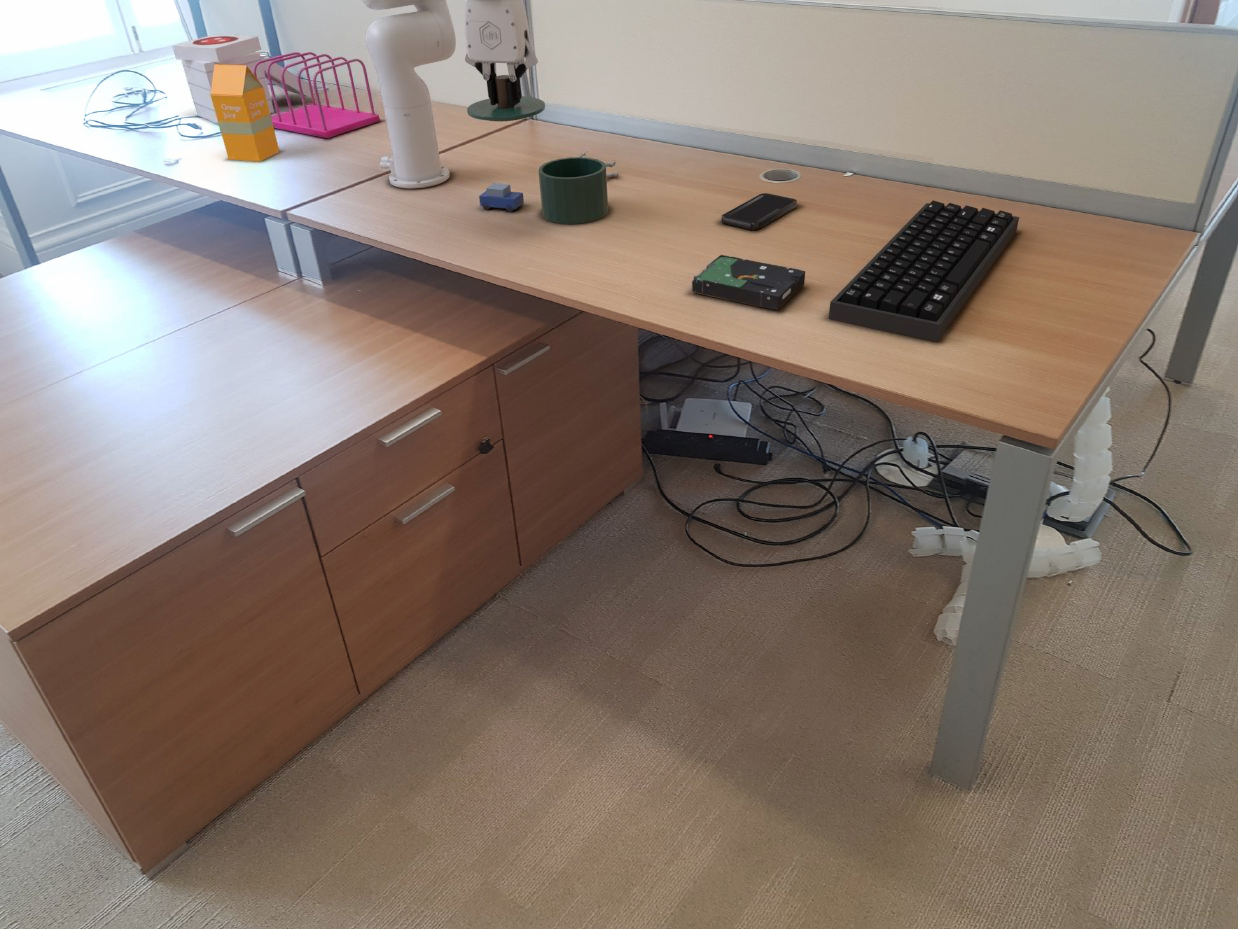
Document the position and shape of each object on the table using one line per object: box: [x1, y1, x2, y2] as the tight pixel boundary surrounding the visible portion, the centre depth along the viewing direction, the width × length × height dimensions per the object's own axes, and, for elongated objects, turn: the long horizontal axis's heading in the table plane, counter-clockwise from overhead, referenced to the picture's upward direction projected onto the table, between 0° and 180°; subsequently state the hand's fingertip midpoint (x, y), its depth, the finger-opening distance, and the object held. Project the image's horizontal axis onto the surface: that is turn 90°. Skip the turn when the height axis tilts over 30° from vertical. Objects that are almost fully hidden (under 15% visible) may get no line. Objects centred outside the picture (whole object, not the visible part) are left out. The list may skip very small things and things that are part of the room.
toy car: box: [478, 182, 525, 213], centre depth 181 cm, size 8×4×4 cm, turn 69°
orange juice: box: [210, 64, 280, 163], centre depth 212 cm, size 8×9×20 cm
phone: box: [721, 192, 798, 231], centre depth 172 cm, size 8×1×15 cm
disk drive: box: [691, 254, 806, 311], centre depth 146 cm, size 10×3×15 cm
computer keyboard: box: [828, 200, 1020, 343], centre depth 148 cm, size 45×16×4 cm, turn 148°
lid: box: [466, 74, 546, 122], centre depth 160 cm, size 13×13×6 cm
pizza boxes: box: [171, 33, 315, 125], centre depth 248 cm, size 19×30×18 cm, turn 133°
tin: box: [538, 156, 609, 225], centre depth 175 cm, size 12×12×8 cm
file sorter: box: [253, 51, 381, 139], centre depth 233 cm, size 17×25×16 cm
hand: (505, 102), depth 161 cm, fingers closed on lid, 2 cm apart
